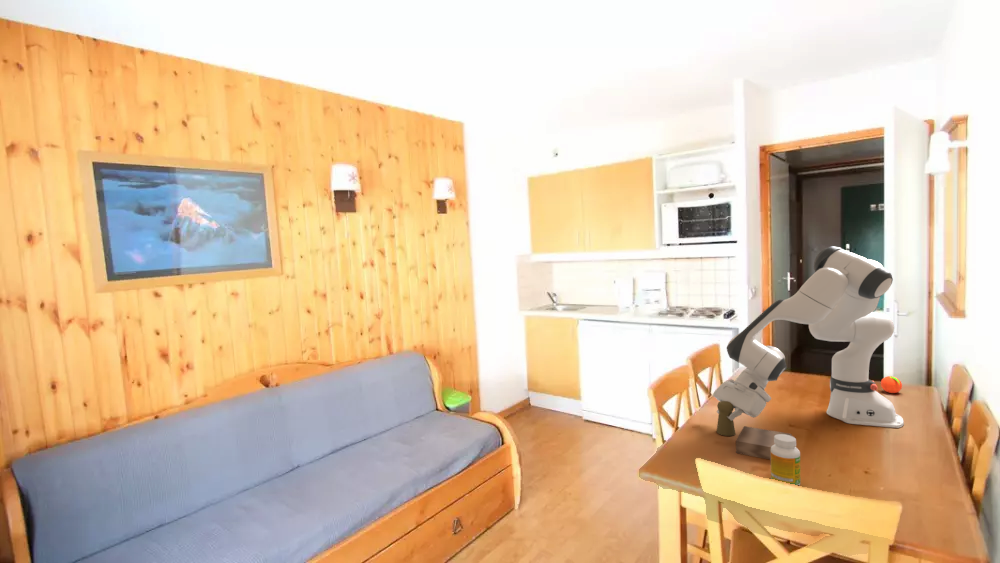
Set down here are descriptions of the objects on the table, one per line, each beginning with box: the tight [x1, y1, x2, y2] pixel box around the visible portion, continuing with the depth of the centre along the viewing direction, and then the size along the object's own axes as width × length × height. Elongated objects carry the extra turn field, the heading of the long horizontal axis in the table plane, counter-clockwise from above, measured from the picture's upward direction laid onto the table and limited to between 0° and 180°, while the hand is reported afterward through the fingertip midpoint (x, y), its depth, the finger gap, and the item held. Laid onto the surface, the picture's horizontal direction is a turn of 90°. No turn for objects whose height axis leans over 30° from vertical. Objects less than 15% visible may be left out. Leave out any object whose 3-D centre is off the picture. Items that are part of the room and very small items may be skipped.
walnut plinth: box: [735, 426, 793, 461], centre depth 155 cm, size 14×14×4 cm
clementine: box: [880, 375, 903, 394], centre depth 200 cm, size 8×7×7 cm
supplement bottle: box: [770, 434, 801, 486], centre depth 134 cm, size 7×7×13 cm
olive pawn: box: [716, 401, 736, 437], centre depth 169 cm, size 6×6×11 cm
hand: (724, 416), depth 169 cm, fingers closed on olive pawn, 4 cm apart
